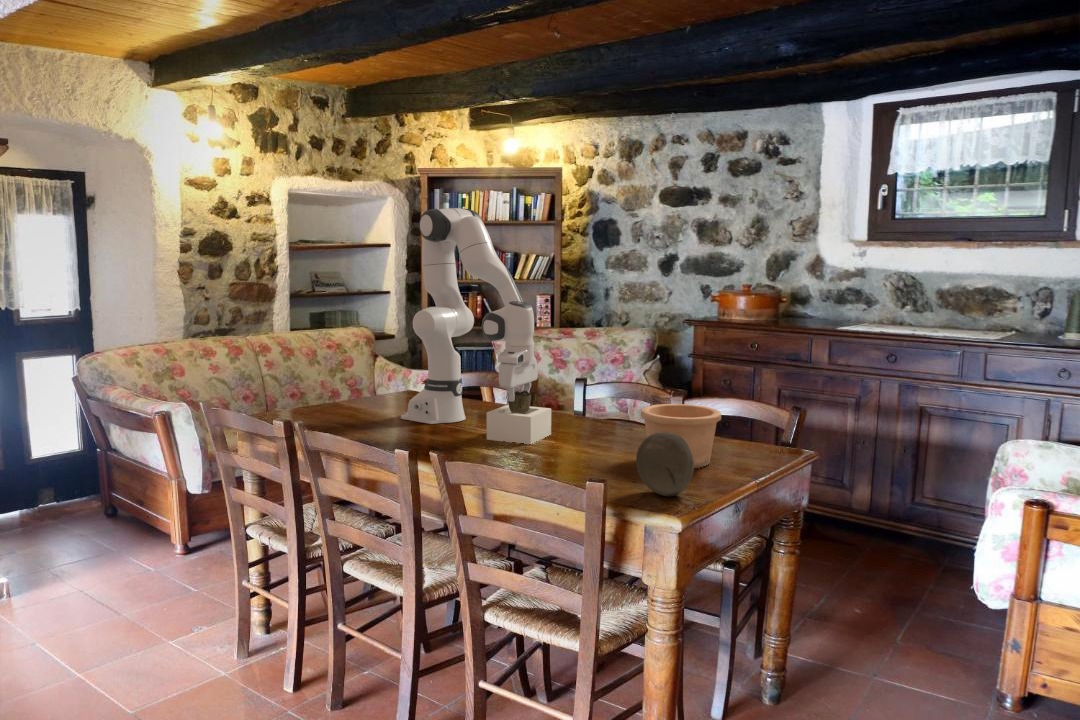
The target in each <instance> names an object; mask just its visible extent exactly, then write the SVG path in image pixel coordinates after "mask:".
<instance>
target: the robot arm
mask: <svg viewBox="0 0 1080 720" xmlns="http://www.w3.org/2000/svg"><path fill="white" fill-rule="evenodd" d="M418 228H419V232H420V234H421V236H422V237H423V241H422V251H421V253H422V255H421V256H422V257H421V258H422V259H421V260H422V271H423V273H422V274H423V282H424V289H425V292H427V293H428V294H429V295H430V296H431V298H432V299H433V301H434V304H435V306H429V307H426V308H423V309H421V310H419V311H417V312H416V313H415V315H414V316H413V319H412V328H413V331H414V333H415V335H416V336H417V337H419V339H420V340H421V341H422V343H423V345H424V348H425V351H426V355H427V375H428V376H427V377H428V378H426V379H425V380H422V381H421V385H424V387H423V389H422V390H421V391H419V392H417V394H416V395H414V396H413V397H412V398H411V399H410V400H409V401H408V404H407V409H406V412H404V413H403V414H401V415H400V420H401V419H402V420H406V421H407V420H408V421H412V422H417V423H422V424H423V423H424V424H429V425H433V424H434V425H436V424H447V423H449V424H451V423H457V422H461V421H462V422H463V421H465V420H466V418H467V417H466V415H465V411H464V406H463V398H462V394H463V378H462V377H461V376H462V373H461V371H462V369H461V368H462V367H461V364H462V363H461V359H462V358H461V355H460V353H459V352H458V351H456V350H455V347H454V344H453V340H452V338H455V337H461V336H464V335H465V334H467V333H469V332H470V331H471V330H472V329H473V327H474V324H475V318H474V313H473V312H472V310H471V309H470V308H468V306H467V305H466V304H465V303H466V302H465V301H464V300H463V297H462V294H461V292H460V288H459V286H458V285H459V284H458V277H457V267H456V258H455V249H456V247H457V251H458V254H459V257H460V261H461V264H462V266H463V268H464V270H465V271H466V273H467V274H469V275H470V276H472V277H473V278H476V279H479V280H482V281H485V282H486V283H488V284H490V285H491V286H493V287H494V288H495V289H496V290H497V291H498V293H499V295H500V297H501V301H502V302H503V305H504V306H503V307H502V308H499V309H497V310H496V309H495V310H494V311H491V312H487V313H486V314H485V315H484V317H483V318H482V321H481V330H482V334H483V336H484V338H486V339H487V341H490V342H495V343H496V342H497V343H498V342H504V343H505V348H504V349H503V351H502V352H501V353H499V355H498V357H497V361H498V363H499V366H498V384H499V387H500V388H501V389H506V393H508V395H509V401H512V402H513V401H515V400H516V395H515V394H514V393H515V390H516V387H519V386H523V390H522V392H523V394H526V393H527V392H529V393H530V390H531V387H532V382H534V381H537V380H538V376H539V375H538V374H539V372H538V371H539V370H538V367H539V366H538V360H537V358H536V355H535V343H534V338H533V337H534V332H535V314H534V309H533V307H532V305H531V304H530V303H527V302H525V301H524V300H523V298H522V296H521V294H520V291H519V289H518V287H517V285H516V283H515V280H514V278H513V276H512V275H511V272H510V270H509V268H507V266H506V265H505V264H504V263H503V262H502V261H501V259H500V258H499V256H498V254H497V252H496V250H495V248H494V245H493V242H492V239H491V237H490V233H489V232H488V229H487V227H486V226H485V223H484V222H483V220H482V218H481V215H479V213H478V212H477V211H475V210H472V209H470V208H458V207H448V208H432V209H428V210H427V209H426V210H425V211H424V212H423V213H421V216H420V218H419V222H418ZM508 395H507V396H508Z"/></svg>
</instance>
